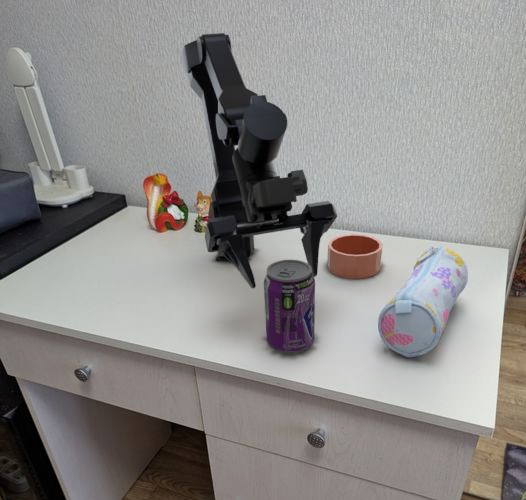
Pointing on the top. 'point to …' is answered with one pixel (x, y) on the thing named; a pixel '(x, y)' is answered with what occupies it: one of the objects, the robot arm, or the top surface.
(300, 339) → the beverage can
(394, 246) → the top surface
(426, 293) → the pencil case
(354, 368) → the top surface
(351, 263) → the can holder
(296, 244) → the top surface
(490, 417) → the top surface
